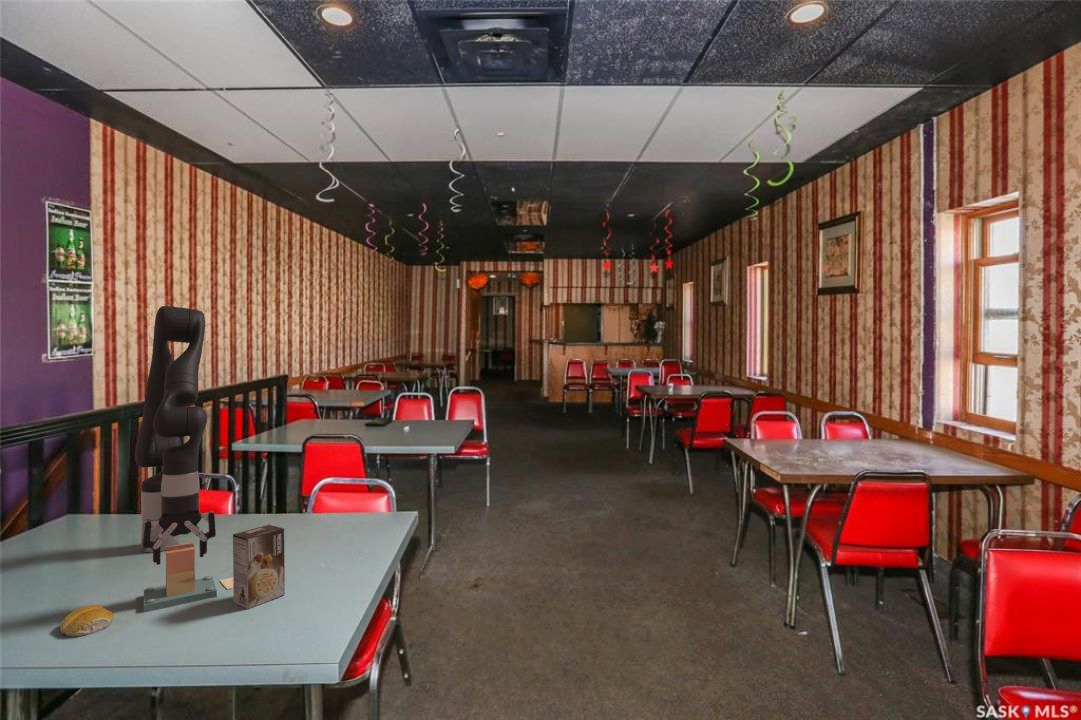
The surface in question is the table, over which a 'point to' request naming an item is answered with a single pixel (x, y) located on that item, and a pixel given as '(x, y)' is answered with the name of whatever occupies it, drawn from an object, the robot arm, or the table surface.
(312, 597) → the table surface
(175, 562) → the terracotta brick
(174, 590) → the oak brick
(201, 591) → the board
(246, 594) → the coffee box
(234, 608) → the table surface
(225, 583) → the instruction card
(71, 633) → the bread roll
